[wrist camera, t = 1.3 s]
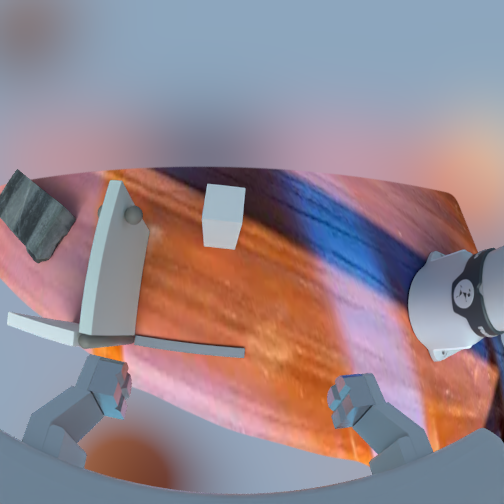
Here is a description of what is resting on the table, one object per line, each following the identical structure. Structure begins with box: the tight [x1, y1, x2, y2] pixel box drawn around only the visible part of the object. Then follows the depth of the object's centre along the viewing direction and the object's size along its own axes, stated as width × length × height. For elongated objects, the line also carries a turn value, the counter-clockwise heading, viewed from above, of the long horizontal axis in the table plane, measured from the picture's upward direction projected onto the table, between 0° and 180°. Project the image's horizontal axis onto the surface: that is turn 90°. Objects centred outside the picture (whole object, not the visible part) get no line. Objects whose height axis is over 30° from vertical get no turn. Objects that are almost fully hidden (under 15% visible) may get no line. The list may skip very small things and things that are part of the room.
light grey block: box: [202, 184, 245, 250], centre depth 32 cm, size 4×4×9 cm
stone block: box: [0, 169, 76, 263], centre depth 30 cm, size 9×14×5 cm, turn 62°
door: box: [78, 180, 150, 349], centre depth 26 cm, size 15×5×13 cm, turn 176°
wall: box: [7, 312, 245, 358], centre depth 24 cm, size 23×1×14 cm, turn 86°
